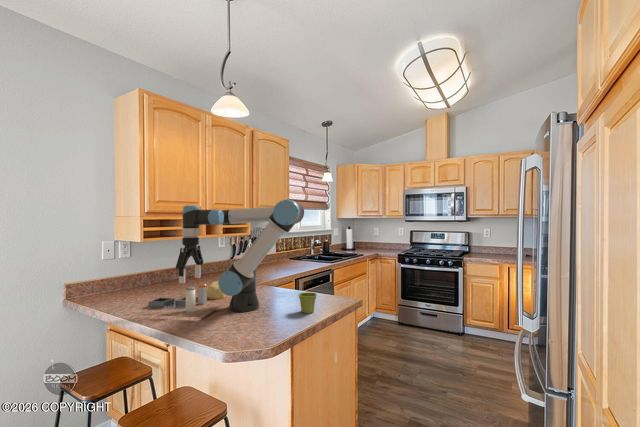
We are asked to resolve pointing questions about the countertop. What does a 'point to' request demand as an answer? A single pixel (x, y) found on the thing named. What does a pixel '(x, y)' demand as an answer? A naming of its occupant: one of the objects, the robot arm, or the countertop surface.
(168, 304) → the dock
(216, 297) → the sculpture
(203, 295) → the pin
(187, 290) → the cream round peg
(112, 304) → the countertop surface
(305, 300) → the plant pot
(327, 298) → the countertop surface
